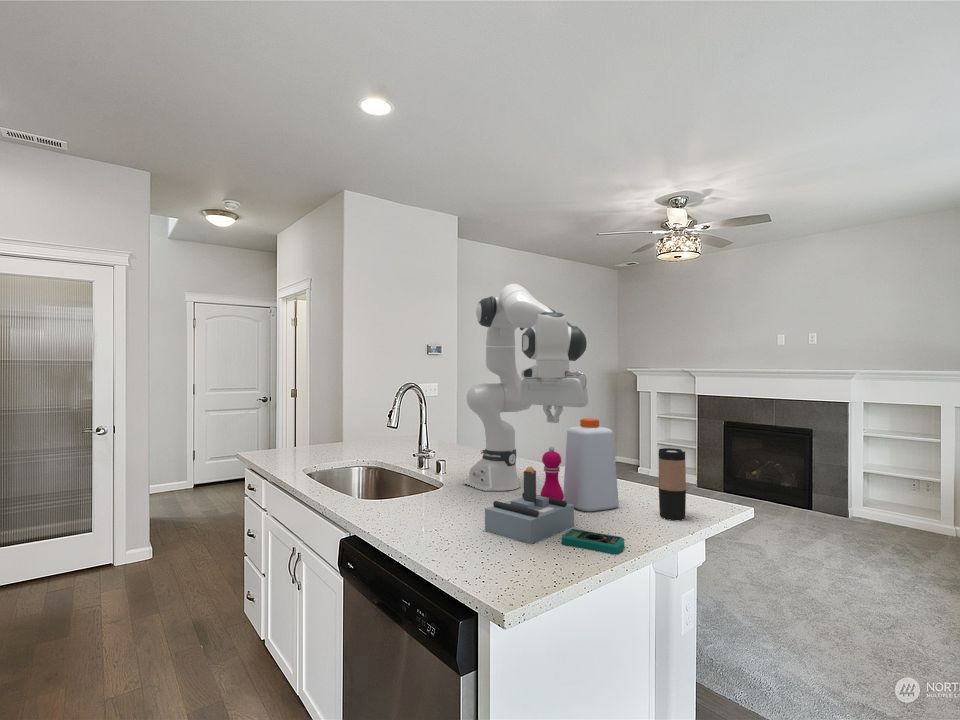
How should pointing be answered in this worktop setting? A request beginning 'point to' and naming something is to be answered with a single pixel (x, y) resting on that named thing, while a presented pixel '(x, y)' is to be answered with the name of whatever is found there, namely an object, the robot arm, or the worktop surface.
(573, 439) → the plastic bottle
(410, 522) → the worktop surface
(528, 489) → the breaker lever
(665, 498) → the travel mug
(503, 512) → the box
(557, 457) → the pepper mill
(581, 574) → the worktop surface
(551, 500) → the dark parallel rails
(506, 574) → the worktop surface
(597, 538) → the digital multimeter
